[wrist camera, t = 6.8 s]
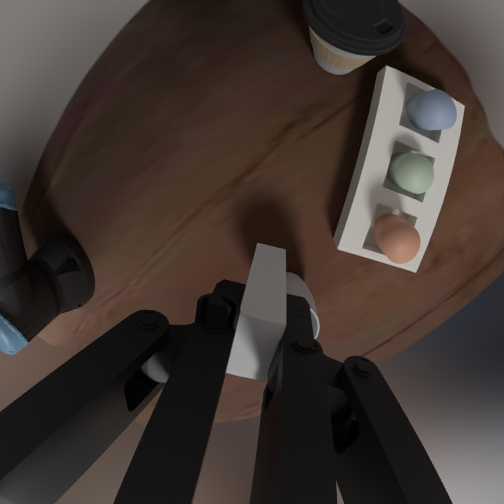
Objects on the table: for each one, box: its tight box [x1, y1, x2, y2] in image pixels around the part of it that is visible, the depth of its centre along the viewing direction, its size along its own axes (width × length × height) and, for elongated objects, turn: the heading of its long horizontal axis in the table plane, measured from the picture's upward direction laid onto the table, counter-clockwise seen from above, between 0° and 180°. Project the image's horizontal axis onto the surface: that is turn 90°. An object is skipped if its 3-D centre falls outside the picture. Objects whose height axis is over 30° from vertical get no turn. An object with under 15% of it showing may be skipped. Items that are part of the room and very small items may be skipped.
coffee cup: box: [302, 0, 406, 75], centre depth 20 cm, size 9×9×15 cm
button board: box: [333, 66, 464, 272], centre depth 30 cm, size 12×24×4 cm, turn 167°
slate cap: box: [406, 89, 457, 131], centre depth 23 cm, size 5×5×5 cm
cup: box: [286, 272, 319, 339], centre depth 36 cm, size 8×8×10 cm
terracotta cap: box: [373, 213, 421, 264], centre depth 29 cm, size 5×5×5 cm
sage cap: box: [387, 152, 434, 194], centre depth 28 cm, size 5×5×5 cm
